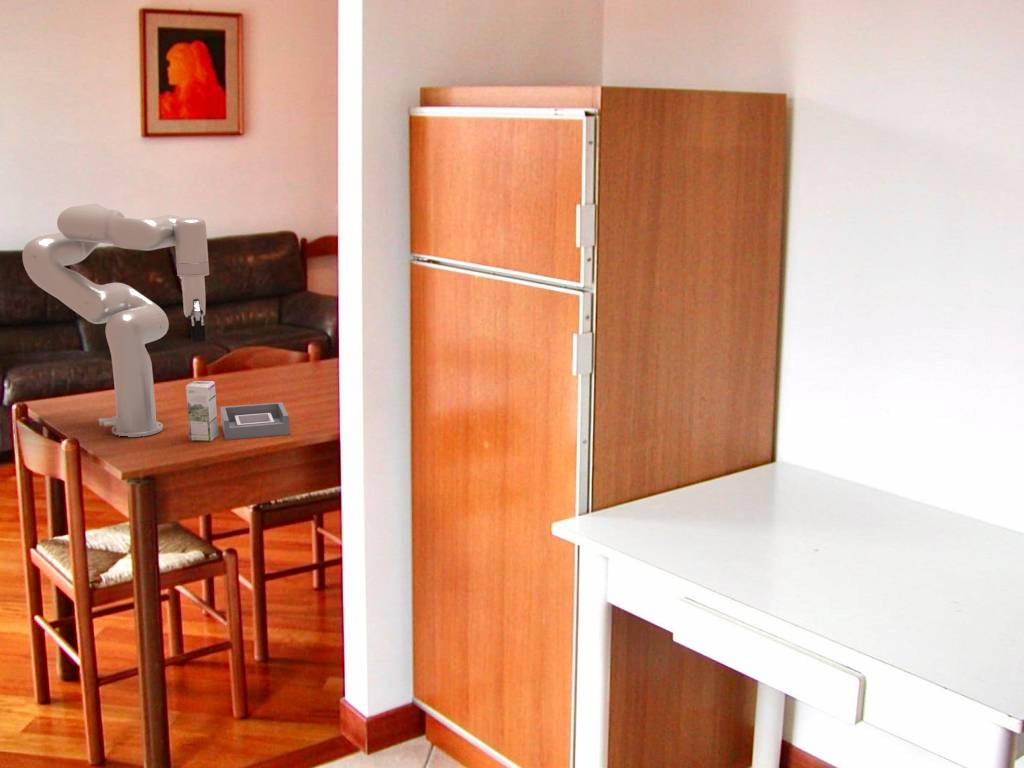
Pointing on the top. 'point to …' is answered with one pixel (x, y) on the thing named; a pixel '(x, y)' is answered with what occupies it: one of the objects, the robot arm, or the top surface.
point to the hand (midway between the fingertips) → (197, 337)
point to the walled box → (254, 420)
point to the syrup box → (202, 410)
